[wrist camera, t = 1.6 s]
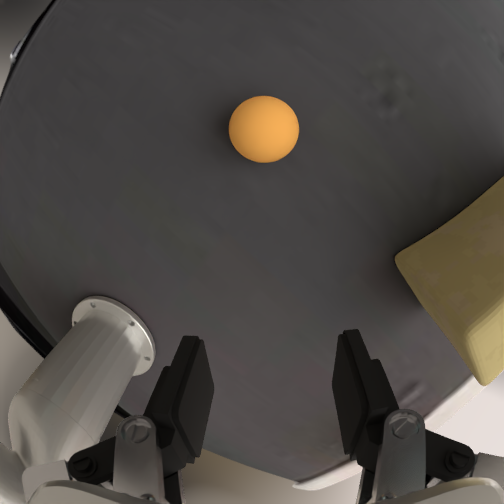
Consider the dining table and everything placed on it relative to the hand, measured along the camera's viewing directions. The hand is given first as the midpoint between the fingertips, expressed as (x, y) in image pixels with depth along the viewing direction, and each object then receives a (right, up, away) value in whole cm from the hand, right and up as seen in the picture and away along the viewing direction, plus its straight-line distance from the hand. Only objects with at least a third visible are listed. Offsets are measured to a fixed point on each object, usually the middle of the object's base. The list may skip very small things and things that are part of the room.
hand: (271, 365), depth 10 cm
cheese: (+25, +8, +15) cm, 30 cm away
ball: (0, +14, +10) cm, 17 cm away
